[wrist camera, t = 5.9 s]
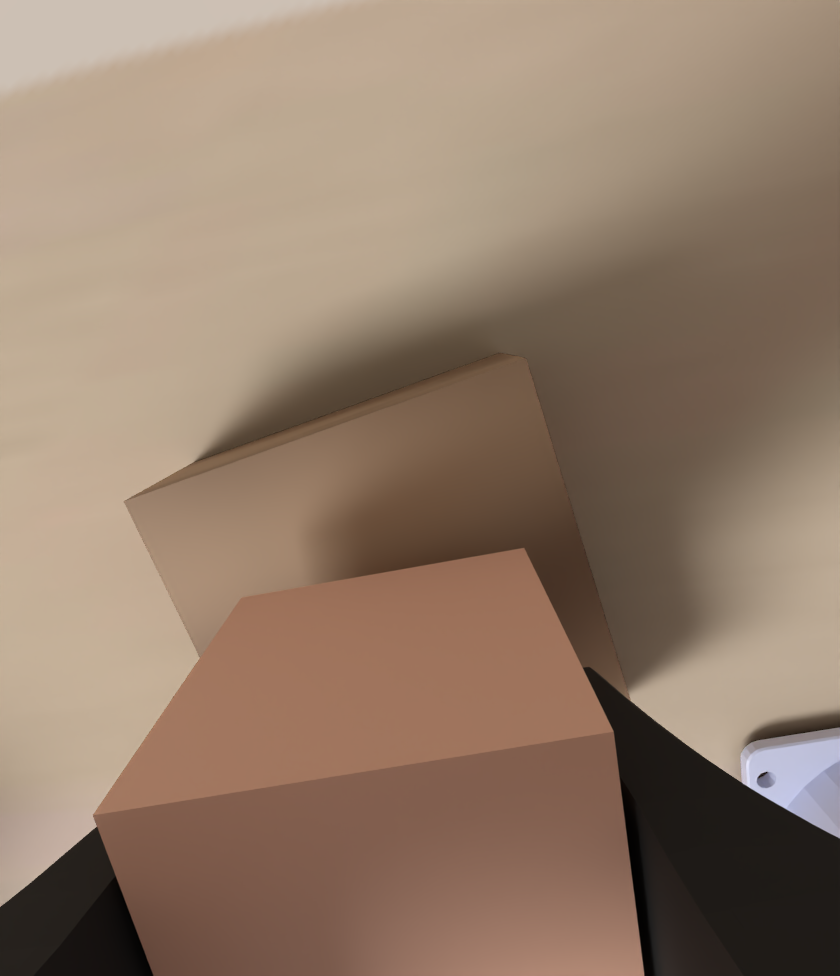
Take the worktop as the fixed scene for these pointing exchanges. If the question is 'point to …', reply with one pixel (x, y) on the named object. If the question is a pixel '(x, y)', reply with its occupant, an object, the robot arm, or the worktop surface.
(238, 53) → the worktop surface
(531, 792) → the terracotta cube
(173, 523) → the walnut block
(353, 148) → the worktop surface
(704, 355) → the worktop surface
